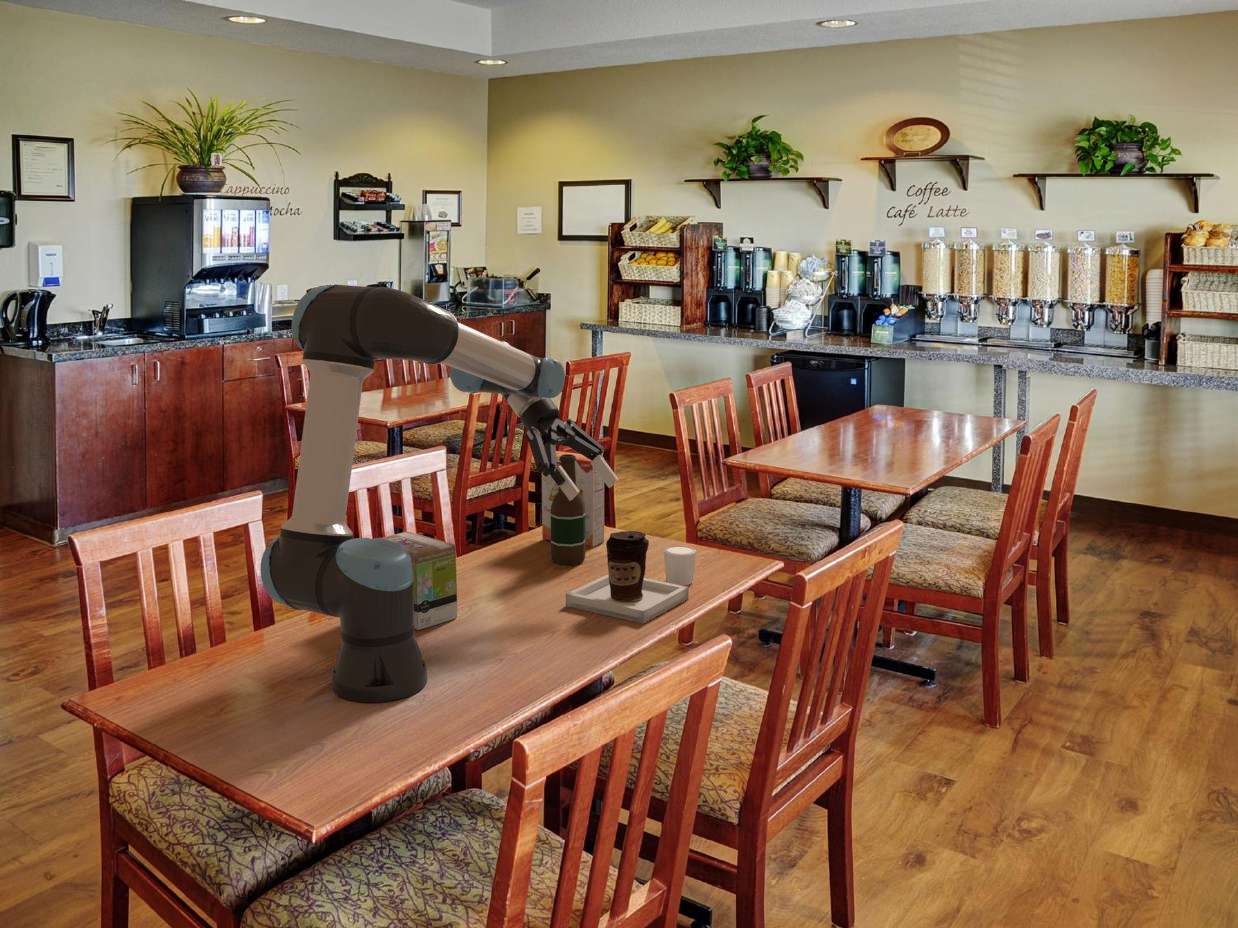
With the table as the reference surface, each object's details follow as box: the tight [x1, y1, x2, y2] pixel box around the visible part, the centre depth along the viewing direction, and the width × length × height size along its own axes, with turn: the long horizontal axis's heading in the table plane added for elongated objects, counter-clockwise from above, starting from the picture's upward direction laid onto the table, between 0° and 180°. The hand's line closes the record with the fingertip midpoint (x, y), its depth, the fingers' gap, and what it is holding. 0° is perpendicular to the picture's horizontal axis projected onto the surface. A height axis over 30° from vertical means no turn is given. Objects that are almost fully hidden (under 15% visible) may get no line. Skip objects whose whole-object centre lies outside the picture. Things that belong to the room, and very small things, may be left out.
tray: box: [565, 573, 690, 625], centre depth 222 cm, size 17×18×2 cm
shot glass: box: [663, 545, 697, 586], centre depth 234 cm, size 7×7×7 cm
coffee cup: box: [605, 530, 650, 601], centre depth 220 cm, size 9×8×13 cm
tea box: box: [379, 531, 458, 631], centre depth 213 cm, size 15×10×15 cm, turn 48°
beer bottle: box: [550, 454, 587, 567], centre depth 246 cm, size 8×8×24 cm
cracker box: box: [541, 450, 605, 549], centre depth 262 cm, size 14×6×21 cm, turn 61°
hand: (594, 489), depth 222 cm, fingers open, 13 cm apart
